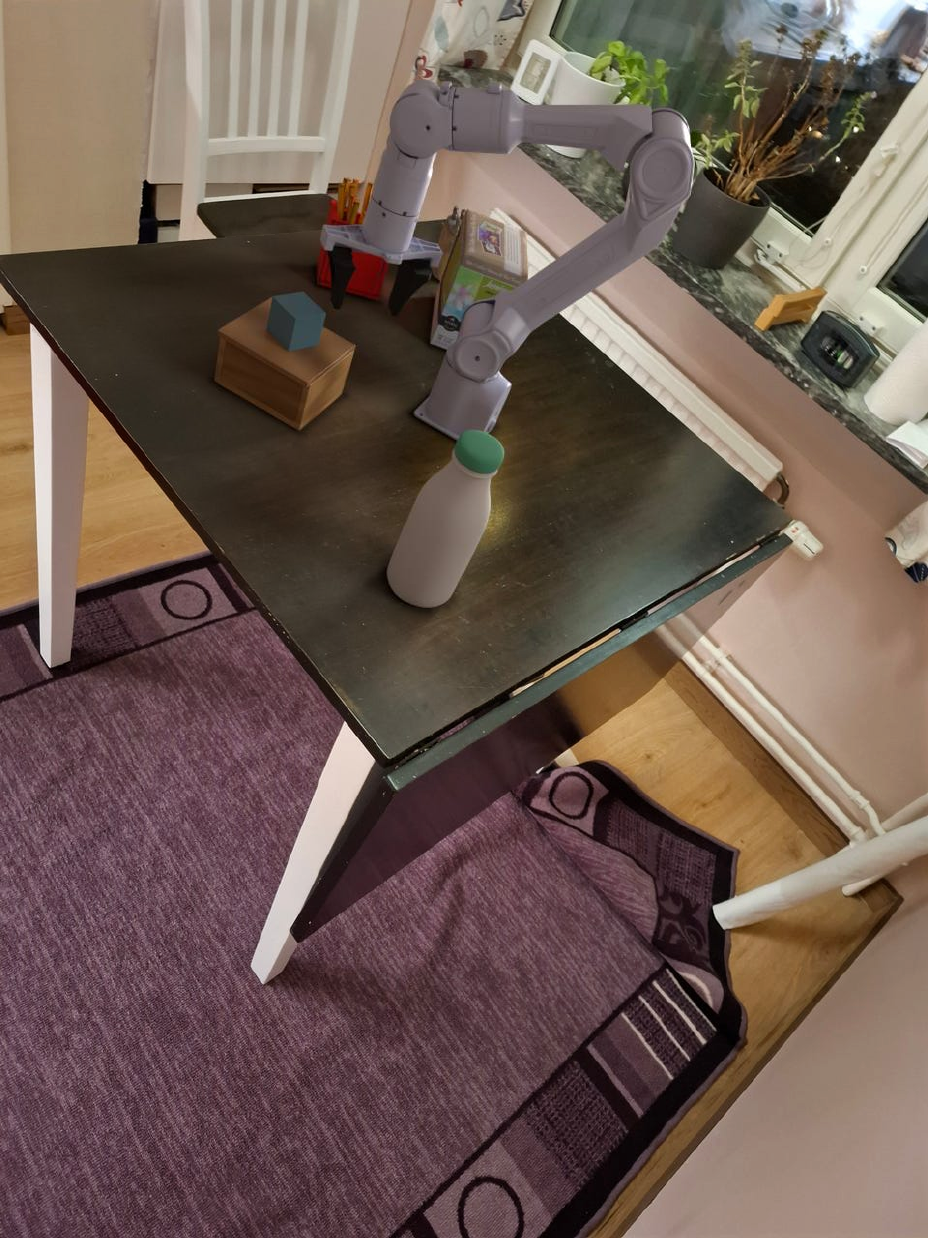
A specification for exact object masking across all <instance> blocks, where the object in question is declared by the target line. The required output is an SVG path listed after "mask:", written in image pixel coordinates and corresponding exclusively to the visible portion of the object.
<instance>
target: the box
mask: <svg viewBox="0 0 928 1238" xmlns="http://www.w3.org/2000/svg"><path fill="white" fill-rule="evenodd" d="M354 353H355V350H354V351H352V352H351V353H350V354H348V355H347V356H346V357H345V358H343V359H342V360H341V361H340V362H338V363H337V364H336V365H335V366H333V367H332V368H331V369H330V370H328V371H327V372H326V373H325V374H323V375H322V376H321V377H319V378H318V379H317V380H316V381H314V382H313V383H312V384H311V385H309V386H308V387H307V388H306V387H305V386H303V385H301V384H299V383H298V382H296V381H294V380H293V379H291V378H289V377H287V376H286V375H284V374H282V373H281V372H279V371H277V370H276V369H274V368H272V367H270V366H269V365H267V364H265V363H264V362H262V361H260V360H259V359H257V358H255V357H253V356H252V355H250V354H248V353H247V352H245V351H243V350H242V349H240V348H238V347H236V346H235V345H233V344H231V343H230V342H228V341H226V340H225V339H223V338H221V337H219V346H218V350H217V358H216V359H217V360H216V364H215V365H216V366H215V371H214V372H215V373H214V382H215V383H217V384H218V385H220V386H222V387H224V388H225V389H227V390H228V391H230V392H232V393H234V394H235V395H237V396H239V397H241V398H243V399H244V400H245V401H247V402H249V403H250V404H253V405H254V406H256V407H257V408H258V409H261V410H263V411H264V412H266V413H268V414H269V415H271V416H273V417H275V418H276V419H278V420H280V421H281V422H283V423H285V424H287V425H288V426H290V427H292V428H293V429H295V430H296V431H301V430H302V429H303V428H305V426H307V425H308V424H309V423H310V422H311V421H313V420H314V419H315V418H316V417H317V416H318V415H320V414H321V413H322V412H324V410H326V408H328V407H329V406H330V405H331V404H333V403H334V402H335V401H336V400H337V399H338V398H339V397H341V396H342V394H343V391H344V387H345V384H346V381H347V377H348V374H349V371H350V367H351V362H352V359H353V356H354Z"/></svg>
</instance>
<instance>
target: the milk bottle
mask: <svg viewBox="0 0 928 1238" xmlns="http://www.w3.org/2000/svg"><path fill="white" fill-rule="evenodd" d="M504 459H505V448H504V447H503V445H502V443H501V442H500V441H499V440H498V439H497V438H496V437H494V436H493V435H491V434H489V433H485V432H482V431H478V430H469V431H465V432H463V433H462V434H461V435H460V437H459V439H458V440H457V441H456V443H455V446H454V448H453V450H452V452H451V460H450V461H449V462H448V463H447V464H446V465H445V466H444V467H443V468H442V469H440V470H439V471H438V472H436V473H435V474H433V475H432V476H431V477H430V478H429V479H428V480H427V481H426V482H425V483H424V484H423V486H422V488H421V489H420V491H419V492H418V494H417V496H416V499H415V501H414V503H413V505H412V506H411V508H410V511H409V514H408V515H407V518H406V521H405V523H404V526H403V528H402V530H401V532H400V535H399V538H398V540H397V543H396V545H395V547H394V549H393V552H392V555H391V556H390V560H389V562H388V566H387V569H386V577H387V581H388V585H389V586H390V589H391V590H392V591H393V592H394V594H395V595H396V596H397V597H398V598H400V599H401V600H402V601H404V602H406V603H408V604H409V605H412V606H415V607H417V608H425V609H426V608H429V609H432V608H437V607H438V606H441V605H443V604H445V603H446V602H448V601H449V600H450V598H451V597H452V596H453V593H454V592H455V590H456V588H457V586H458V584H459V583H460V581H461V579H462V576H463V574H464V573H465V571H466V569H467V567H468V565H469V563H470V561H471V559H472V558H473V555H474V553H475V552H476V549H477V547H478V545H479V543H480V541H481V539H482V538H483V535H484V533H485V530H486V528H487V526H488V522H489V521H490V516H491V508H492V507H491V506H492V499H491V498H492V497H491V482H492V477H494V476H496V475H497V473H498V470H499V468H500V467H501V465H502V463H503V461H504Z"/></svg>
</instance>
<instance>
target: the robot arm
mask: <svg viewBox="0 0 928 1238" xmlns="http://www.w3.org/2000/svg"><path fill="white" fill-rule="evenodd" d="M452 83H453V82H452V81H450V80H449V81H448V80H442V81H441V83H440V85H439V86H438V85H437V83H436V82H435V81H431V80H429V79H428V80H427V79H418V80H415V81H413V82H412V83H410V84H408V85H407V86H406V87H405V88H404V89H403V91H402V93H401V94H400V96H399V97H398V99H397V100H396V102H395V103H394V105H393V106H392V110H391V112H390V116H389V133H388V135H387V137H386V146H385V148H384V149H383V151H382V153H381V157H380V161H379V164H378V166H377V167H378V168H377V171H376V174H375V179H374V182H373V183H374V185H373V189H372V193H371V197H370V200H369V204H368V208H367V211H366V215H365V218H364V222H363V225H343V226H331V225H326V224H323V225H322V228H321V232H320V236H319V243H320V244H321V245H322V247H323V249H324V250H327V254H328V259H329V265H330V274H331V288H330V295H329V296H330V297H329V300H330V303H331V306H332V308H333V310H336V311H340V310H341V308H342V306H343V303H344V300H345V295H346V293H347V292H346V288H347V286H348V283H349V281H350V279H351V277H352V275H353V273H354V271H355V270H356V267H355V265H354V263H353V261H352V259H353V256H352V254H351V253H352V251H355V252H361V253H368V254H372V255H375V256H378V257H381V258H383V259H384V260H385V261H386V262H387V263H389V264H392V265H397V270H396V275H395V279H394V283H393V287H392V288H391V292H390V294H389V298H388V303H387V308H388V311H389V313H390V314H391V317H394V318H396V317H398V316H399V314H400V313H401V311H402V310H403V309H404V307H405V305H406V304H407V302H408V301H409V300H410V299H411V298H412V297H413V295H414V294H415V293H416V292H417V291H418V290H419V289H421V288H422V287H423V286H424V285H425V284H427V283H429V282H430V280H431V277H432V276H433V271H432V270H431V268H430V267H431V266H433V267H438V265H439V262H440V259H441V256H442V254H443V253H442V251H441V249H440V247H439V246H438V243H435V242H431V241H427V240H425V239H421V238H419V237H416V236H414V231H415V230H416V225H417V223H418V221H419V216H420V214H421V210H422V208H423V204H424V202H425V198H426V195H427V193H428V189H429V186H430V183H431V180H432V177H433V173H434V168H433V165H434V163H435V159H436V157H437V153H438V152H439V151H440V150H441V149H444V150H446V151H449V152H460V153H478V154H492V155H493V154H495V155H509V154H511V152H513V150H514V149H516V147H517V146H519V145H520V144H522V143H530V144H538V145H546V146H554V147H555V146H556V147H564V148H573V149H580V150H581V149H582V150H592V151H597V152H598V153H599V154H600V155H601V156H602V157H603V158H604V160H606V161H607V162H608V164H610V166H611V167H612V169H614V170H615V171H616V172H617V173H618V174H622V172H623V170H624V168H625V165H626V164H627V165H629V184H628V190H627V195H626V199H625V200H626V201H625V206H624V209H623V211H622V212H621V213H619V214H618V215H616V216H615V217H614V218H612V219H611V220H609V221H608V222H607V223H605V224H604V225H602V226H601V227H599V228H598V229H597V230H595V231H594V232H593V233H591V234H590V235H588V236H587V237H586V238H584V239H583V240H582V241H580V242H579V243H578V244H576V245H574V246H573V247H571V249H569V250H567V251H566V252H565V253H563V254H562V255H560V256H559V257H557V258H556V259H555V260H554V261H551V263H549V264H548V265H546V266H545V267H543V268H542V269H541V270H539V271H538V272H536V273H535V274H533V275H532V276H531V277H530V278H528V280H527V281H525V282H524V283H523V284H521V285H520V286H518V287H517V288H516V289H514V290H513V291H501V292H500V293H498V294H497V295H495V296H494V297H491V298H488V299H482V300H477V301H475V302H473V303H471V304H470V305H469V306H468V307H467V308H466V309H465V311H464V313H463V315H462V319H461V327H460V330H459V334H458V337H457V341H456V342H455V343H453V344H451V345H450V346H449V347H448V349H447V350H446V352H445V354H444V356H443V359H442V362H441V365H440V367H439V370H438V372H437V375H436V378H435V379H434V383H433V386H432V388H431V391H430V393H429V396H428V397H427V398H426V399H425V400H424V401H423V402H422V403H421V404H420V405H419V406H418V407H417V408H416V409H415V410H414V412H413V416H414V417H416V418H417V419H419V420H420V421H422V422H424V423H426V424H427V425H429V426H431V427H433V428H434V429H436V430H437V431H439V432H441V433H443V434H444V435H446V436H447V437H449V438H451V439H453V440H454V441H456V442H457V440H458V439H459V437H460V435H461V434H462V433H463V432H465V431H469V430H478V431H482V432H485V433H488V434H489V433H491V432H492V430H493V428H494V427H495V425H496V423H497V420H498V418H499V415H500V413H501V411H502V409H503V408H504V407H503V406H504V405H505V403H506V401H507V398H508V396H509V394H510V391H511V388H512V383H511V382H510V381H508V379H506V378H505V377H504V376H503V375H502V374H501V372H500V370H501V369H502V366H503V365H504V363H505V362H506V360H508V358H510V357H511V356H513V355H514V354H516V353H517V351H518V350H519V348H520V347H521V346H522V344H523V343H524V342H525V341H526V340H527V338H528V336H529V335H530V334H531V333H532V332H533V331H534V330H536V329H537V328H539V327H541V326H542V325H544V323H547V322H548V321H550V319H552V318H554V317H555V316H557V315H559V314H560V313H562V312H563V311H564V310H566V309H567V308H569V307H570V306H572V305H573V304H575V303H576V302H578V301H579V300H581V299H582V298H584V297H585V296H587V295H588V294H590V293H591V292H592V291H594V290H596V289H597V288H599V287H600V286H602V285H603V284H605V283H606V282H607V281H609V280H611V279H612V278H614V277H615V276H617V275H618V274H620V273H621V272H623V271H624V270H626V269H627V268H629V267H630V266H632V265H633V264H635V263H636V262H637V261H639V260H640V259H642V258H643V257H645V256H647V255H648V254H650V253H651V252H652V251H654V250H655V249H657V248H658V247H659V246H660V245H662V244H663V242H664V240H665V238H667V237H666V236H667V235H668V232H669V231H670V230H671V227H672V225H673V223H674V221H675V219H676V218H677V216H678V214H679V212H680V210H681V208H682V206H683V204H685V202H686V201H687V200H688V199H689V198H690V197H691V193H692V186H693V180H694V174H695V156H694V153H693V150H692V146H691V145H692V144H691V130H690V126H689V123H688V121H687V120H686V118H685V117H684V115H682V113H680V112H679V111H677V110H676V109H673V108H671V107H670V108H669V107H658V108H655V109H652V106H650V105H646V104H642V103H631V104H630V103H629V104H526V103H524V102H523V101H522V99H520V97H519V96H518V95H517V94H516V92H515V91H513V90H512V89H503V88H502V82H501V81H489V82H488V84H487V86H486V87H487V88H484V87H483V88H482V87H481V88H480V87H466V86H465V87H463V86H453V85H452ZM321 245H320V246H321Z"/></svg>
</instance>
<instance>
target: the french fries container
mask: <svg viewBox="0 0 928 1238" xmlns="http://www.w3.org/2000/svg"><path fill="white" fill-rule="evenodd" d="M359 183H360V180H359V179H358V178H354V177H353V178H352V179H351V178H350V177H348V176H347V177H345V176H344V177H343V180H342V182H338V185H337V186H338V187H337V189H338V190H337V200H336V199H332V198H331V200H330V205H329V209H328V213H327V218H326V222H325V225H331V226H343V225H363V222H364V218H365V215H366V211H367V208H368V204H369V200H370V197H371V193H372V189H373V185H374V182H371V181H368V182H367V185H366V188H365V193H364V198H363V202H362V207H361V211H360V212H359V208H360V205H361V200H360V199H358V195H357V192H358V186H359ZM318 253H319V254H318V257H317V261H318V262H317V265H316V278H317V279H316V280H317V281H316V283H317V284H316V285H317V286H320V287H325V288H328V289H331V274H330V265H329V259H328V254H327V250H324V249H323V247H322V245H320V248H319V252H318ZM351 254H352V256H353V259H352V261H353V263H354V265H355V267H356V270H355V271H354V273H353V275H352V277H351V279H350V281H349V283H348V286H347V288H346V292H345V293H348V294H351V295H355V296H359V297H363V298H367V299H371V300H374V301H379V298H380V294H381V290H382V288H383V284H384V281H385V278H386V274H387V270H388V267H389V265H390V263H387V262H386V261H385V260H384V259H383V258H381V257H378V256H375V255H372V254H368V253H361V252H355V251H352V253H351Z"/></svg>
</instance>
